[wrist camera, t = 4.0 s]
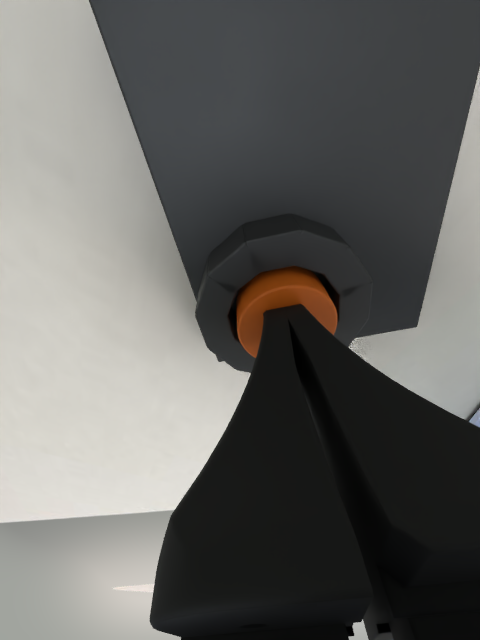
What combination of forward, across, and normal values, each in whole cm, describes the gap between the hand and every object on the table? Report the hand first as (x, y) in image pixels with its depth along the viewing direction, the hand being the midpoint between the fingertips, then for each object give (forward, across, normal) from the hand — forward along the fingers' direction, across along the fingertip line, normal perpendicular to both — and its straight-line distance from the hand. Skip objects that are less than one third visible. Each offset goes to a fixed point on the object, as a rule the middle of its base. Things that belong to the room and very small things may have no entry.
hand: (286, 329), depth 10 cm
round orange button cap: (+2, 0, 0) cm, 2 cm away
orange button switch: (+4, -2, -3) cm, 5 cm away
